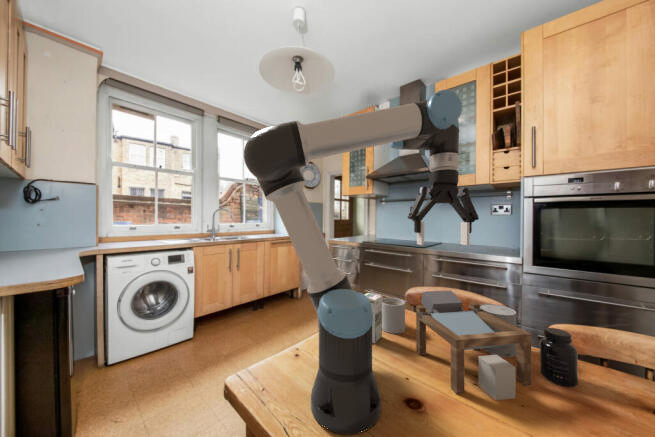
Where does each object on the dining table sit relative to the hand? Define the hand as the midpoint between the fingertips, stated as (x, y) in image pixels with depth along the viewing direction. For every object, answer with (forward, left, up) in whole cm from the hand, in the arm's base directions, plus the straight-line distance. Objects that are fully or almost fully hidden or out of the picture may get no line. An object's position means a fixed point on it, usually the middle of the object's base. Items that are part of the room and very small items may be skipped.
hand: (442, 244), depth 68 cm
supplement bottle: (+24, -12, -33) cm, 43 cm away
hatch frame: (+5, -4, -33) cm, 34 cm away
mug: (-5, +22, -33) cm, 41 cm away
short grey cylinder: (+21, +3, -33) cm, 39 cm away
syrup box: (-16, +15, -33) cm, 40 cm away
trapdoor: (+5, +2, -24) cm, 24 cm away
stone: (+5, -13, -26) cm, 30 cm away
